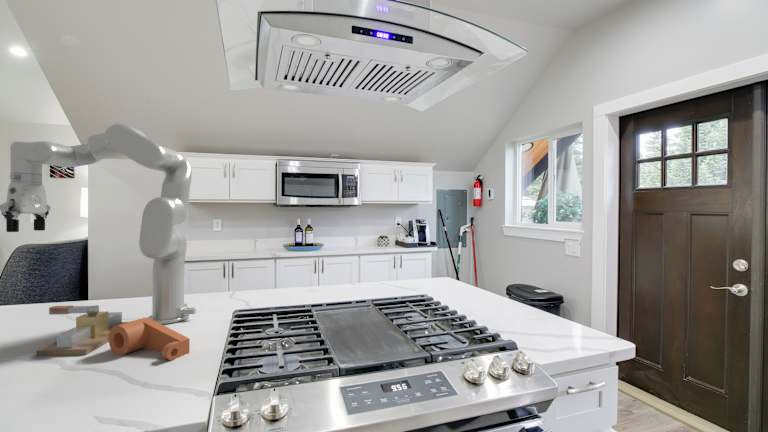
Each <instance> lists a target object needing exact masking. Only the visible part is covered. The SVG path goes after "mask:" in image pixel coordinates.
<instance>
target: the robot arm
mask: <svg viewBox="0 0 768 432" xmlns="http://www.w3.org/2000/svg"><path fill="white" fill-rule="evenodd" d="M86 142H87V143H83V144H78V145H77V144H76V145H71V146H70V145H69V146H68V145H64V144H60V143H55V142H51V141H45V140H40V141H39V140H38V141H31V142H28V141H13V142H12V143H10V175H9V179H10V181H9V183H8V189H7V194H6V201H5V202H4V203H2V204H0V212H1V215H2V216H3V217H4V218H3V219H4V220H6V221H5V223H6V224H5V225H6V226H5V227H6V229H5V230H6V232H7V233H18V232H19V231H20V220H19V219H18V218H19V216H20V215H21V214H30V215H31V214H32V216H33V217H35V218H34V219H33V231H39V232H40V231H45V230H46V219H47V217H48V216H49V213H50V211H51V208H52V207H51V206H50V205H49V204H47V203H48V201H47V193H46V192H47V191H46V188H45V185H44V184H43V165H48V166H56V167H59V168H76V167H77V168H78V167H82V166H88V165H93V164H96V163H98V162H100V161H102V160H106V159H112V158H117V157H119V158H120V157H123V156H124V157H127V158H128V159H131V161H133V162H135V163H137V164H138V165H140V166H143V167H144V168H147V169H149V170H155V171H159V172H163V173H165V177H164V179H163V181H162V183H161V192H160V196H159V197H157V196H156V197H155V198H152V199H150V201H148V202H147V203H146V205H145V207H144V209H143V212H142V217H141V223H140V224H141V225H140V231H139V240H138V245H139V246H138V247H139V250H140V253H142V255H143V256H145V258H148V259H150V260H153V264H152V278H151V279H152V284H151V286H152V289H151V290H152V293H151V294H152V295H151V296H152V297H151V298H152V299H151V300H152V307H151V309H152V310H151V311H152V313H151V314H152V315H150V316H148V317H147V318H150V319H152V320H154V321H156V322H158V323H160V324H162V325H167V324H174V323H178V322H181V321H184V320H187V319H188V318H189V317H190V315H195V314H196V313H197V309H196V308H195V307H188V304H187V303H185V259H186V252H187V244H188V243H187V239H186V238H187V237H186V236H185V235H184V233H183V232H181V231H180V230H179V229H176V228H174V226H175V225H180V224H182V223H183V222H185V220H186V218H187V215H188V207H189V199H190V192H191V191H190V190H191V189H190V188H191V183H192V177H193V176H192V175H193V173H192V172H193V171H192V167H191V164H190V162H189V160H188V159H187V157H185V156H184V155H183V154H181V153H180V152H178V151H176V150H174V149H172V148H169V147H167V146H164V145H161V144H158V143H156V142H154V141H153V140H151V139H149V138H148V137H147V135H146V134H145V133H144V132H143V131H141V130H140V129H137V128H135V127H134V126H133V127H132V126H130V125H128V124H124V123H115V124H111V125H110V126H108V127H107V128H106V129H105V131H104V132H99V133H93V134H90V135H89V136H88V138H87V141H86Z"/></svg>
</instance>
